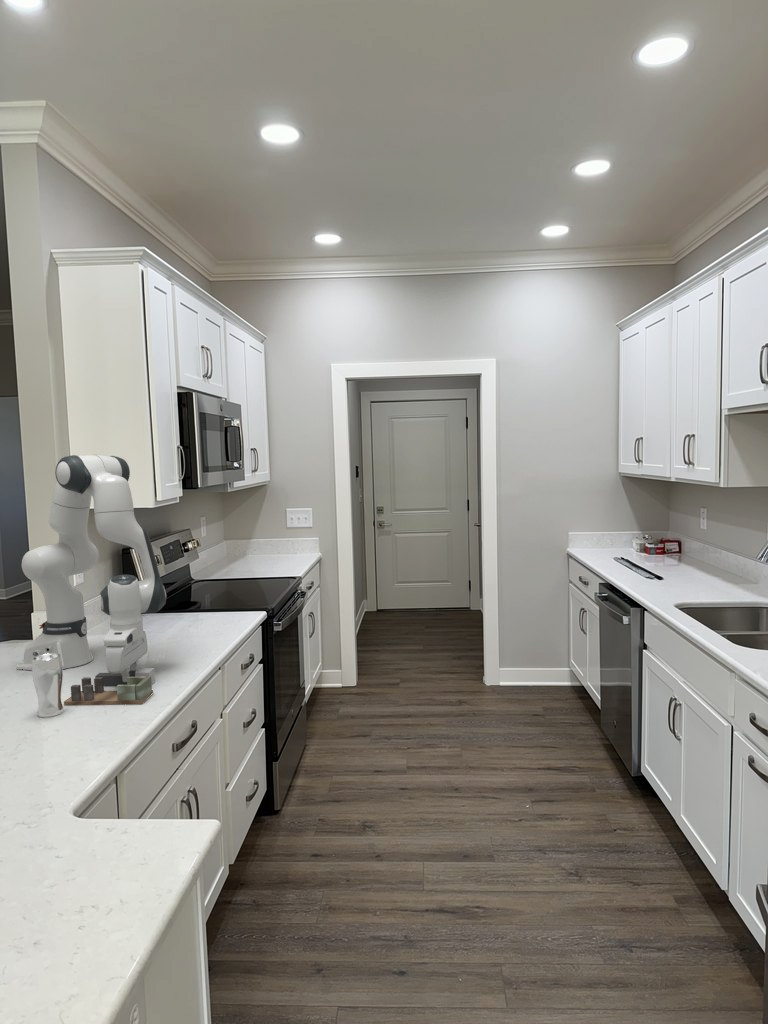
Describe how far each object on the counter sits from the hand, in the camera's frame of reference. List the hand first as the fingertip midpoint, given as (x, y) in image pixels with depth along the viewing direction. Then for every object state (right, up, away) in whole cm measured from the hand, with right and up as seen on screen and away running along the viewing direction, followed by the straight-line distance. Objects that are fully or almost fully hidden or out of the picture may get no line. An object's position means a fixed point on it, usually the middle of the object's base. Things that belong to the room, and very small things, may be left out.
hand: (129, 678), depth 197 cm
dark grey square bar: (-2, -2, 0) cm, 3 cm away
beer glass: (-13, -4, -20) cm, 25 cm away
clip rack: (-2, -3, -12) cm, 12 cm away
